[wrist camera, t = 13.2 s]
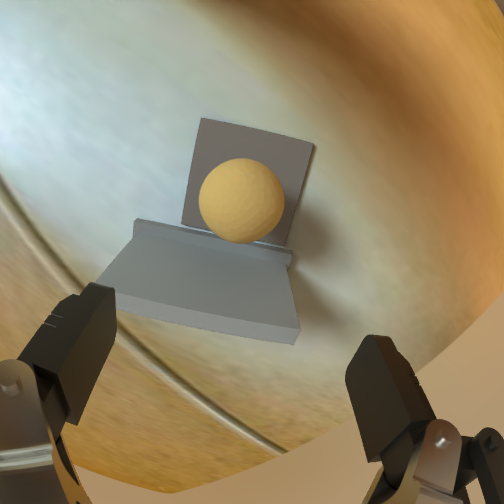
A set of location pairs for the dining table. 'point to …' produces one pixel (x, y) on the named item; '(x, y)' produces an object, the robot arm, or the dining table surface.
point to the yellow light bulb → (241, 200)
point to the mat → (250, 147)
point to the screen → (205, 282)
